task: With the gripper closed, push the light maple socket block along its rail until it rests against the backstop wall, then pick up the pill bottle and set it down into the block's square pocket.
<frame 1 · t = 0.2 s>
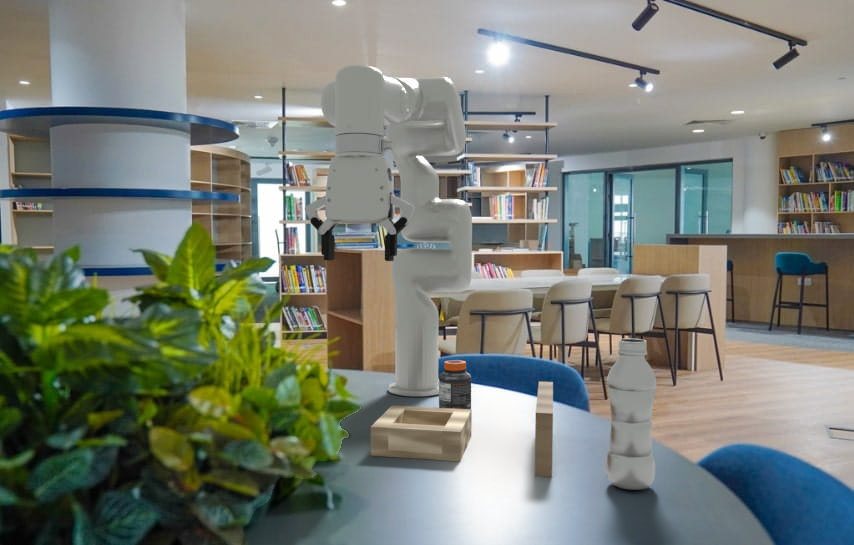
hand: (359, 260, 105), 30 cm above the table, fingers open, 9 cm apart
backstop wall: (544, 452, 107), on the table
socket block: (423, 431, 110), point 2 cm above the table, slide at 11.0 cm
pill bottle: (454, 423, 125), on the table
plastic bottle: (629, 488, 92), on the table
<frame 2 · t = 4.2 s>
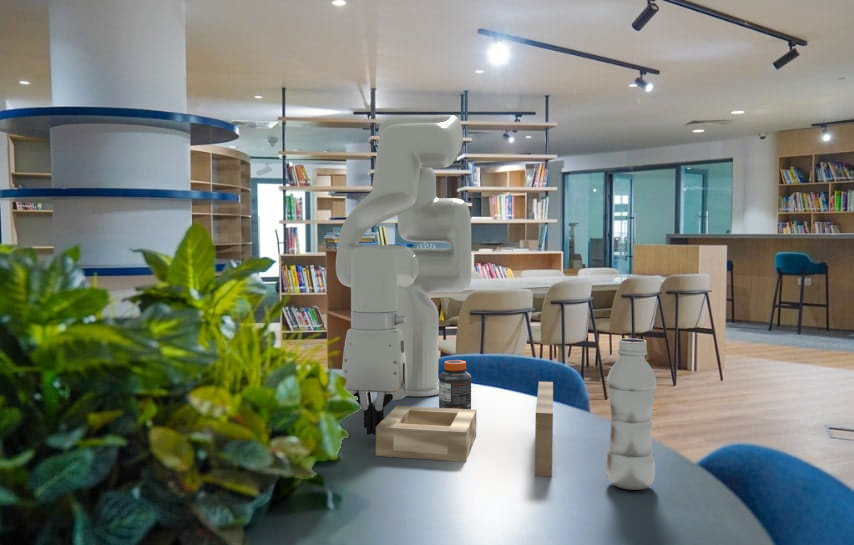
hand: (373, 432, 112), 2 cm above the table, fingers closed
socket block: (428, 431, 110), point 2 cm above the table, slide at 10.2 cm, touching gripper
everything else where it was.
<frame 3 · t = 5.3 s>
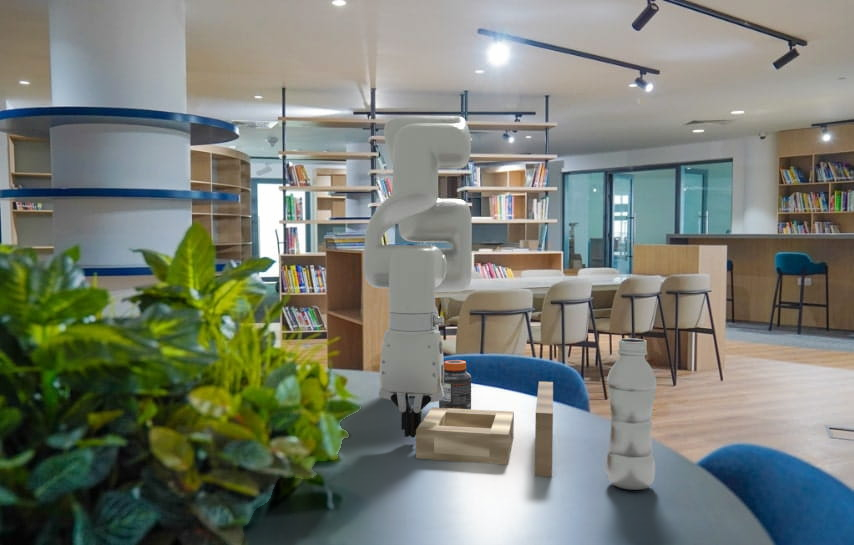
hand: (411, 434, 111), 2 cm above the table, fingers closed
socket block: (467, 433, 109), point 2 cm above the table, slide at 3.8 cm, touching gripper
everything else where it was.
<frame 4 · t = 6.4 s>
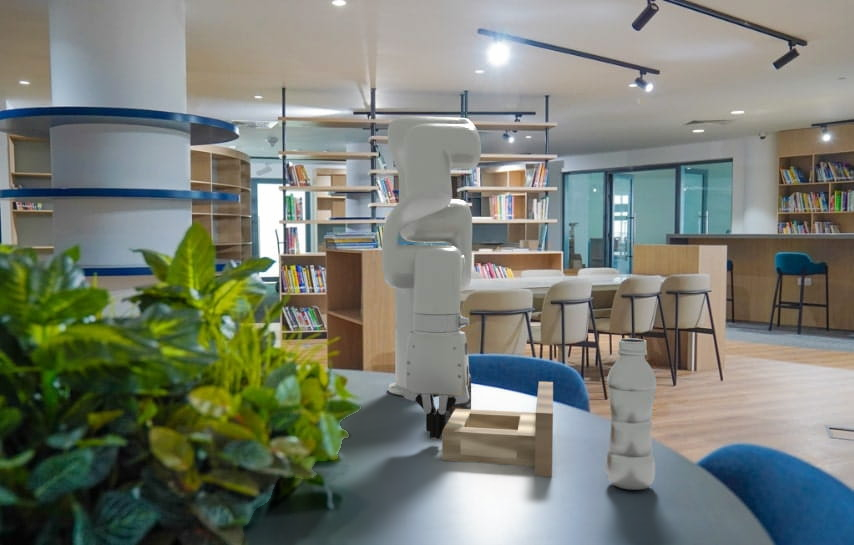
hand: (436, 435, 110), 2 cm above the table, fingers closed
socket block: (492, 435, 108), point 2 cm above the table, slide at -0.2 cm, touching backstop wall, gripper
everything else where it was.
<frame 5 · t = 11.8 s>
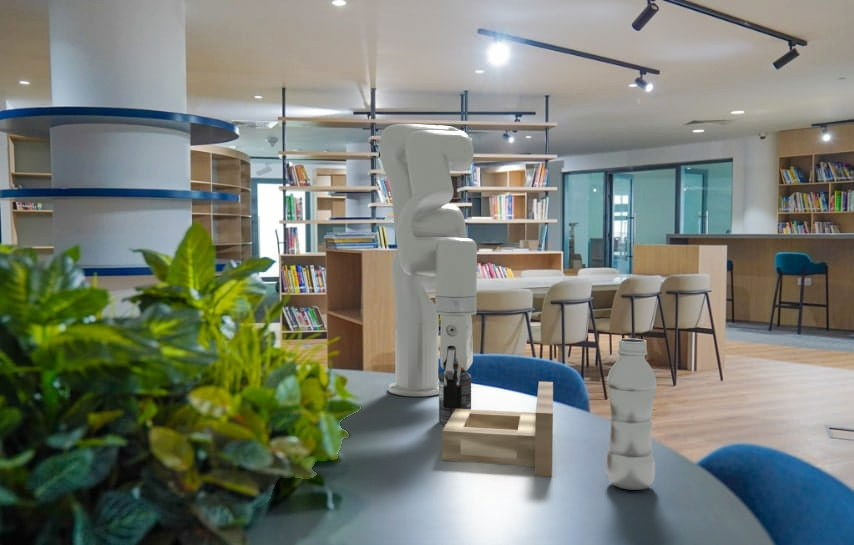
hand: (455, 402, 124), 4 cm above the table, fingers closed on pill bottle, 6 cm apart
socket block: (492, 435, 108), point 2 cm above the table, slide at -0.2 cm, touching backstop wall
pill bottle: (454, 423, 125), on the table, touching gripper
everything else where it was.
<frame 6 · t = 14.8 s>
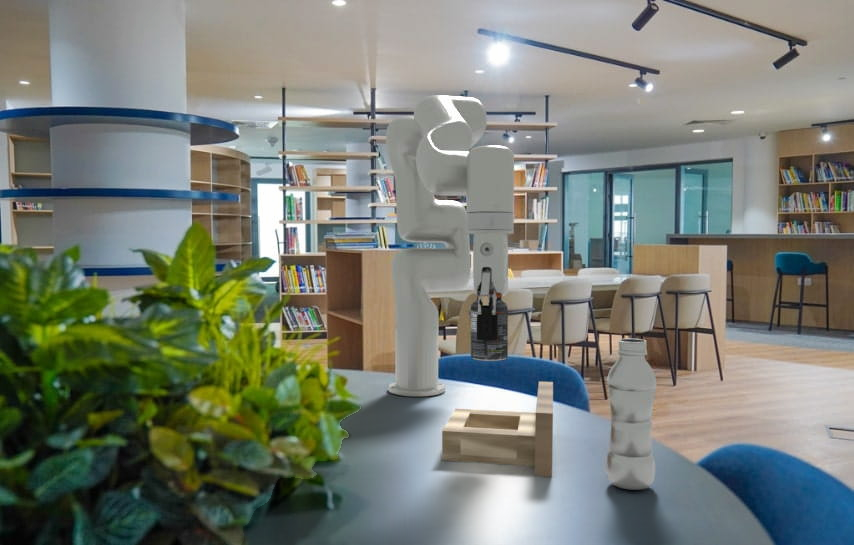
hand: (489, 336, 109), 18 cm above the table, fingers closed on pill bottle, 6 cm apart
pill bottle: (489, 359, 109), point 14 cm above the table, touching gripper
everything else where it was.
when the fingers open (6 cm above the table, at t = 17.6 s): pill bottle drops 1 cm, resting on socket block.
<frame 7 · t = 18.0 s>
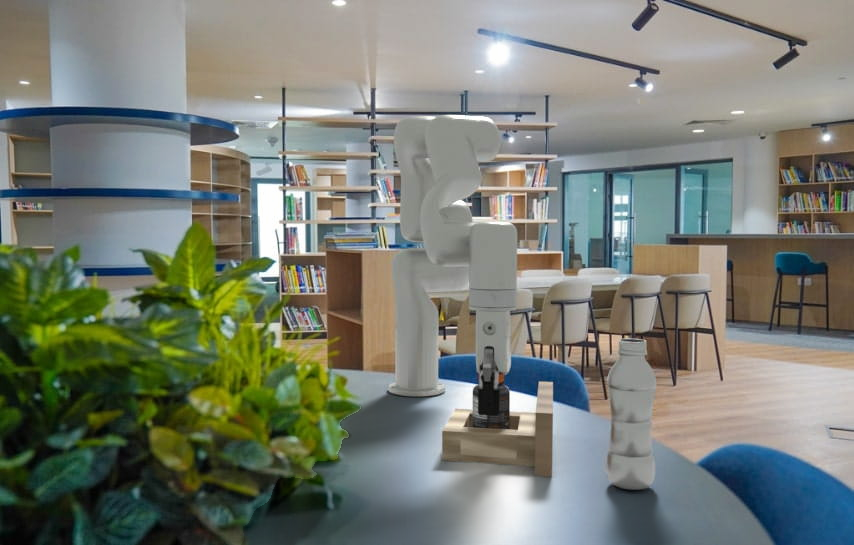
hand: (491, 407, 108), 7 cm above the table, fingers open, 9 cm apart
socket block: (492, 435, 108), point 2 cm above the table, slide at -0.2 cm, touching pill bottle
pill bottle: (490, 443, 109), point 1 cm above the table, touching socket block
everything else where it was.
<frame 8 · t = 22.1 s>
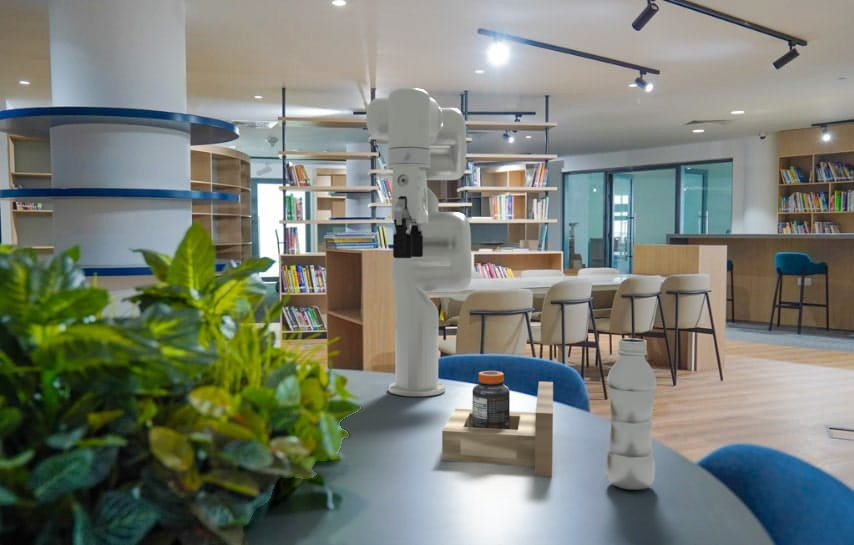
hand: (408, 257, 121), 30 cm above the table, fingers open, 9 cm apart
nothing on the table moved.
at the end: socket block slide at -0.2 cm; pill bottle 0.3 cm from the target spot, point 0.8 cm above the table; pill bottle tilted 0° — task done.
